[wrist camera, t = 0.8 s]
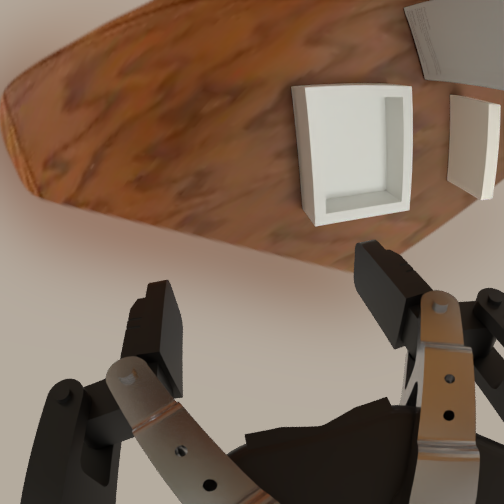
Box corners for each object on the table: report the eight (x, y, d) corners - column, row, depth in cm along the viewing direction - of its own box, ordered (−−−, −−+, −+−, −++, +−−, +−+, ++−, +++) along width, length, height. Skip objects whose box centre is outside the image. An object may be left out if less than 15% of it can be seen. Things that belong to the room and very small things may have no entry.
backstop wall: (462, 95, 26) (500, 105, 21) (458, 179, 32) (492, 198, 26) (450, 94, 26) (488, 103, 21) (446, 180, 31) (480, 200, 26)
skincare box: (459, 73, 25) (570, 98, 12) (420, 80, 25) (539, 105, 13) (440, 2, 21) (551, -4, 8) (398, 3, 21) (514, -15, 8)
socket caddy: (387, 83, 25) (411, 86, 22) (388, 195, 31) (409, 210, 28) (291, 86, 25) (304, 87, 21) (302, 208, 31) (315, 226, 27)
